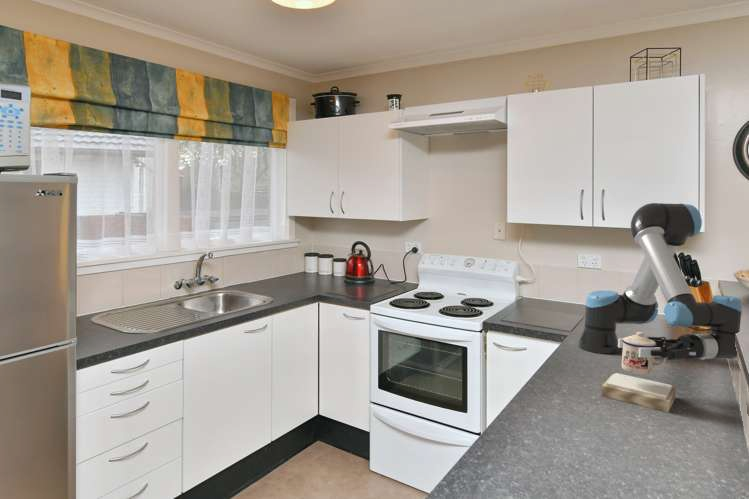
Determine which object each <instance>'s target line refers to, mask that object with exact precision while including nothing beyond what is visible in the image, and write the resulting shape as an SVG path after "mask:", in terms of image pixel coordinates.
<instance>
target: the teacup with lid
mask: <svg viewBox="0 0 749 499" xmlns="http://www.w3.org/2000/svg"><path fill="white" fill-rule="evenodd" d="M644 334H645V333H644V332H642V331H637V332H636V334H633V335H629V336H625V337H623V338H624V339H623V348H622V353H621V356H622V357H621V364H620V365H621V368H622V369H623V370H625V371H626V372H630V373H633V374H638V375H650V374H653V373H654V367H661V366H663V365H664V364H665V363H666V362H667V360H668V357H666V358H663V360H662V361H661V362H660V363H656V362H655V357H638V354H639V348H646V347H648V348H650V347H656V343H655V342H654V341H653V340H650V339H649V338H647V337H648V336H645V335H644Z"/></svg>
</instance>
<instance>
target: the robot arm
mask: <svg viewBox="0 0 749 499" xmlns="http://www.w3.org/2000/svg"><path fill="white" fill-rule="evenodd" d="M701 216H702V215H701V214H700V211H699V209H698V208H697V207H696V206H694V205H693V204H689V203H688V204H687V203H683V202H682V203H681V202H680V203H658V202H651V203H646V204H644V205H642V206H641V207H639V208H638V209H637V210H635V213H634V214H633V215H632V218H631V221H630V233H631V235H632V239H633V240H634V242H635V243H636V244H637V245H640V247H641V250H642V252H643V255H644V257H643V260H642V262H641V264H640V266H639V268H638V270H637V272H636V275H635V277H634V279H633V282H632V284H631V285H629V286H627V287H625V289H624V291H623V294H619V293H618V291H615V290H614V291H613V290H595V291H591V292H589V293H588V294H587V295H586V300H585V313H584V314H585V315H584V316H585V317H584V327H583V330H582V333H581V335H580V337H579V339H578V347H579V349H582V350H584V351H588V352H591V353H597V354H598V353H599V354H609V355H610V354H612V355H613V354H617V353H619V352H620V348H622V349H623V339H624V338H625V337H622V338H621V337H620V338H618V335H617V331H616V330H617V324H619V325H621V324H622V325H623V324H624V325H626V324H627V325H628V324H629V325H631V324H632V325H644V324H649V323H651V322H653V321H654V320H655V319H656V317H657V316H658V313H659V309H658V308H659V303H658V300H657V297H656V295H655V294H656V292H657V290H658V288H660V290H661V292H662V295H663V297H664V298H665V301H666V303H667V304H665V305H664V308H663V314H664V316H663V317H664V320H665V321H666V322H667V324H668V325H670V326H673V327H682V328H688V327H703V328H705V327H706V328H708V327H710V328H709V329H710V333H696V334H695V333H694V334H690V333H689V334H686V333H685V334H681V335H679V336H678V338H677V339H676V338H669V339H668V338H667V337H665V336H660V337H659V336H646V337H647V338H649V339H650V340H653V341H654V342H655V343H656V347H650V348H648V347H646V348H639V354H638V357H654V358H662V359H664V358H666V357H667V360H670V361H672V360H681V359H684V360H685V359H686V360H701V361H705V360H706V359H707V360H708V359H709V360H711V359H716V360H717V359H722V360H723V359H726V360H727V359H728V360H732V359H739V358H738V355H737V351H736V347H735V333H738V332H740V330H741V320H742V314H743V311H742V310H743V309H742V307H743V304H742V300H741V298H739V297H736V296H732V295H724V294H723V295H720V294H719V295H713V297H712V300H711V301H709V302H703V301H697V300H696V298H695V297H694V296H695V295H693V293H692V291H691V288H690V286H689V285H688V282H687V281H686V279H685V277H684V275H683V273H682V271H681V269H680V267H679V265H678V263H677V260H676V259H675V257H674V255H675V254H676V252H677V249H678V248H679V247H683V246H684V245H685V244H686V242H687V240H688V238H692V237H695V236H697V235H698V234H699V233H700V231H701V229H702V224H703V221H702V217H701ZM740 333H741V332H740Z"/></svg>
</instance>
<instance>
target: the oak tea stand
mask: <svg viewBox="0 0 749 499" xmlns="http://www.w3.org/2000/svg"><path fill="white" fill-rule="evenodd" d="M600 393H601V394H600V395H601V396H602V397H606V398H610V399H614V400H616V401H617V400H618V401H621V402H626V403H630V404H634V405H637V406H641V407H645V408H648V409H649V408H650V409H654V410H658V411H661V412H667V413H669V412H670V410H671V407H672V406H673V404H674V402H675V400H676V395H677V387H675V386H673V385H672V384H667V383H663V382H660V381H656V380H655V381H654V380H650V379H645V378H641V377H637V376H632V375H627V374H622V373H618V372H615V373H612V374H611V375H610V376H609V377H608V378H607V380H605V382H604V383H603V384H602V385H601V392H600Z"/></svg>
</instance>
